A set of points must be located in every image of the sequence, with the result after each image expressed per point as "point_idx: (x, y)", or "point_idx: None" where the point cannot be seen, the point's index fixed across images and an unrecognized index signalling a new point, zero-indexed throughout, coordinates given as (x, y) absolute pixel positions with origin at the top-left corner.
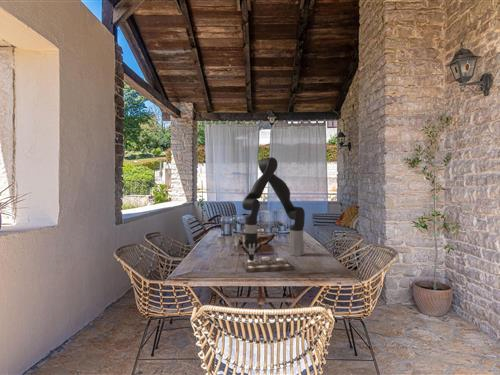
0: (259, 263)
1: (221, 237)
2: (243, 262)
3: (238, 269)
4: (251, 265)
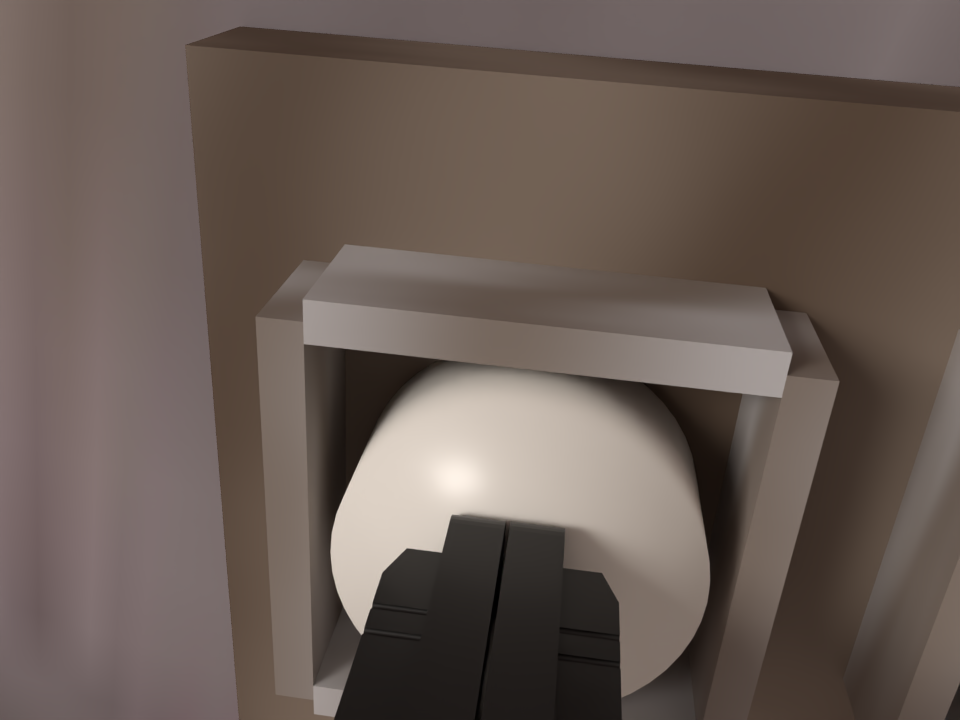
0: (870, 487)
1: None
2: (256, 124)
3: (94, 483)
4: None
